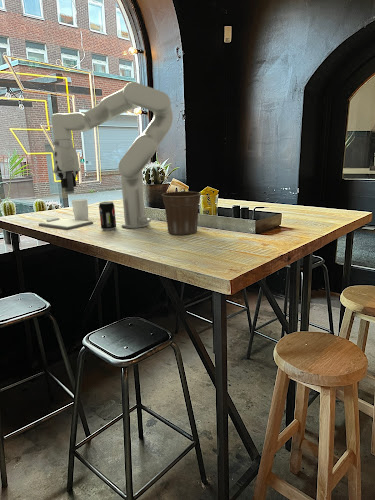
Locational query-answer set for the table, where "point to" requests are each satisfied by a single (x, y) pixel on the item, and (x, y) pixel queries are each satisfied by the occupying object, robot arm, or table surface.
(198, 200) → the plant pot
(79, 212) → the white cup
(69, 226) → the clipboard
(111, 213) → the beverage can
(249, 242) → the table surface
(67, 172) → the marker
